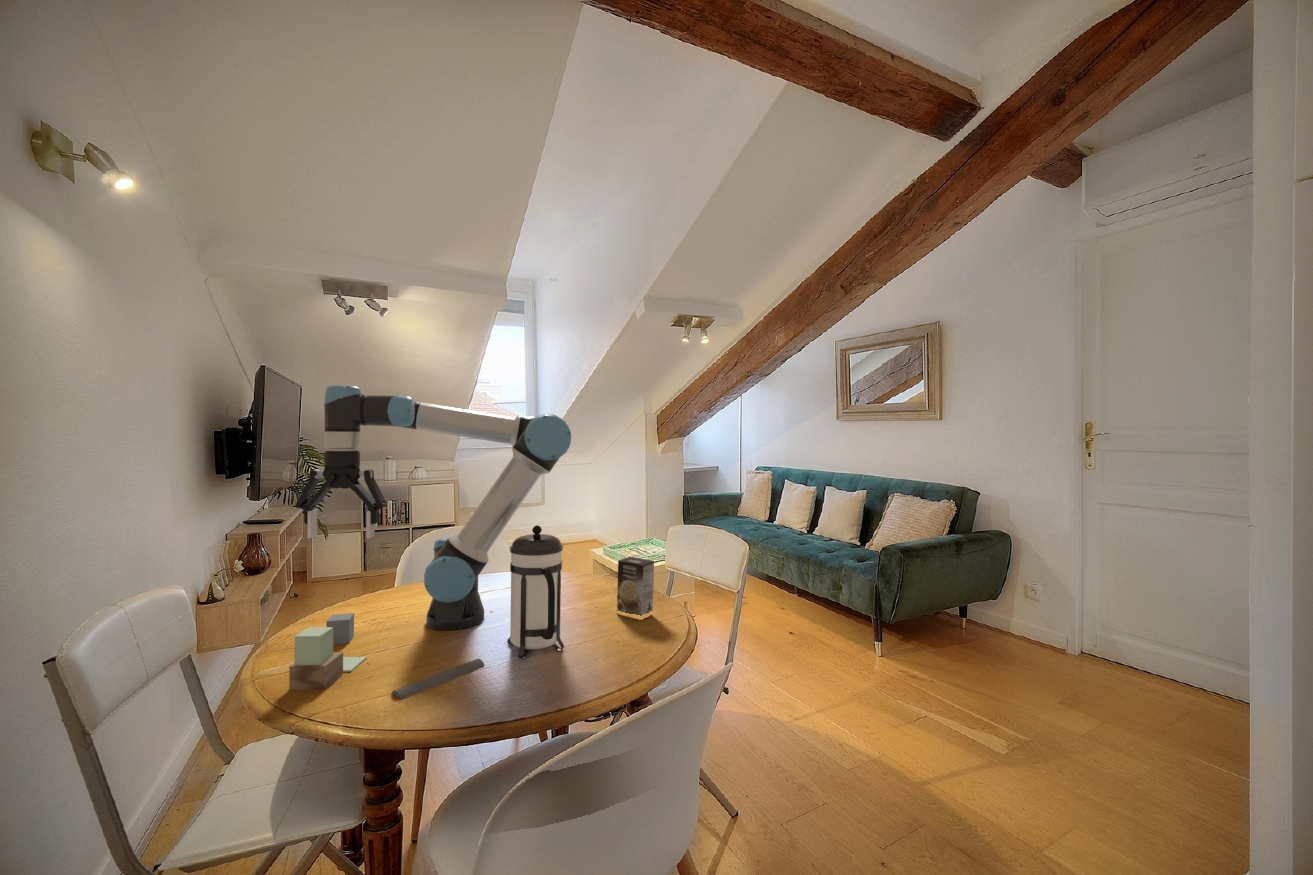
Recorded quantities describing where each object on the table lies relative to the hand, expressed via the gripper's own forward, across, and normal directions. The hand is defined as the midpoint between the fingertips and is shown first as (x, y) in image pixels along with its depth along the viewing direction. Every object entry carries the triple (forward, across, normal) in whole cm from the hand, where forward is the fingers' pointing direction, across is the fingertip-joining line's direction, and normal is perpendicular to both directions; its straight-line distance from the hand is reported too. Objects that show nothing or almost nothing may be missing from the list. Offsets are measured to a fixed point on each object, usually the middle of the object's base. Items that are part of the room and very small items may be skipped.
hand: (341, 537), depth 130 cm
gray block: (+27, +2, -4) cm, 27 cm away
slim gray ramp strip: (+28, -30, +18) cm, 44 cm away
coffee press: (+27, -48, +2) cm, 55 cm away
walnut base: (+27, -4, +18) cm, 33 cm away
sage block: (+22, -4, +19) cm, 29 cm away
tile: (+27, -6, +10) cm, 29 cm away
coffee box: (+27, -72, -22) cm, 80 cm away
